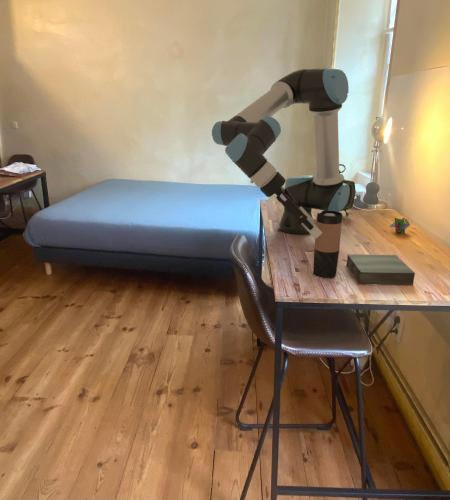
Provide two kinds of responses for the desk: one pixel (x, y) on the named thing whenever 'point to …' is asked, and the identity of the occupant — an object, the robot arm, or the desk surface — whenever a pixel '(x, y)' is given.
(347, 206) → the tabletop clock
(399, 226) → the geometric puzzle
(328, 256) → the travel mug
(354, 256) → the stand
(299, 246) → the desk surface
